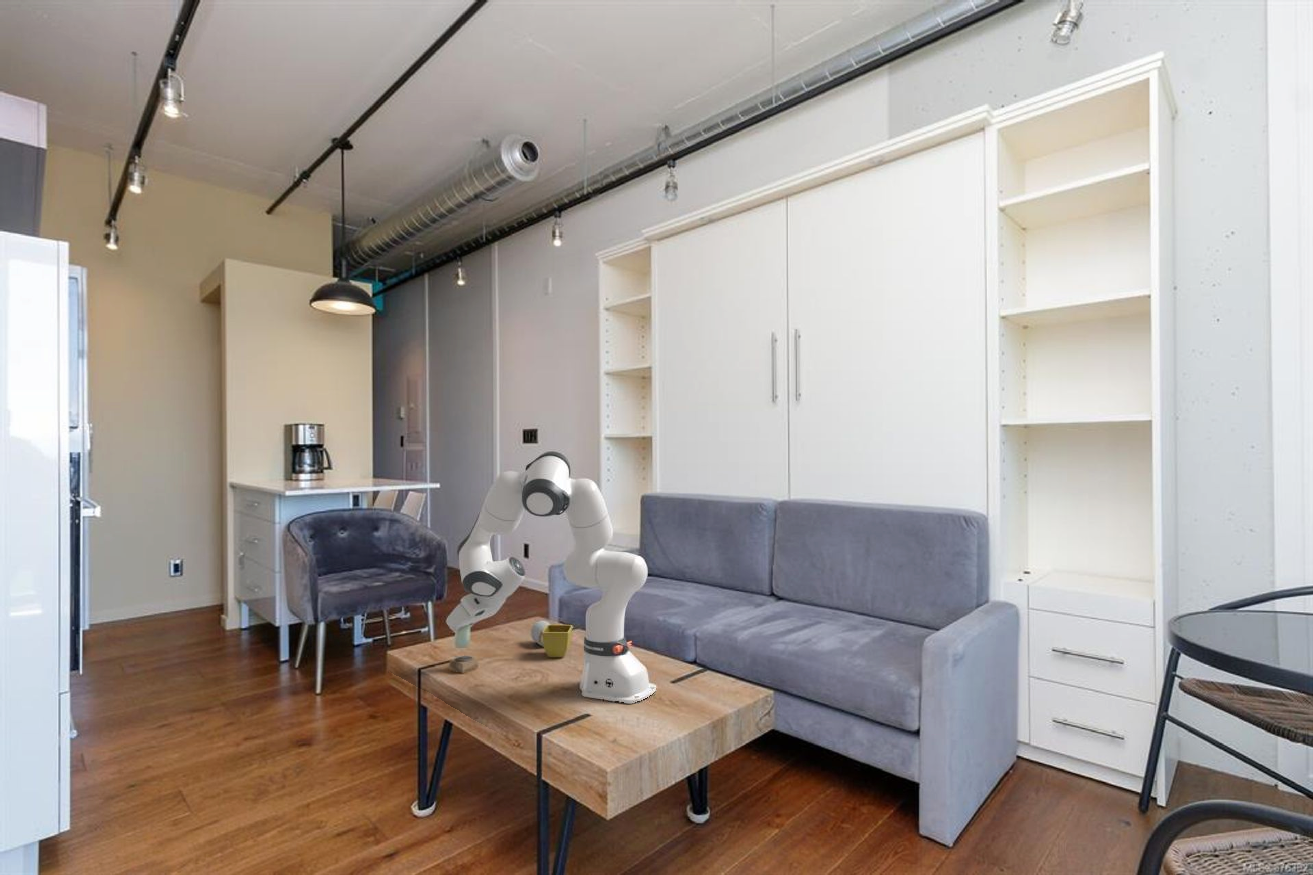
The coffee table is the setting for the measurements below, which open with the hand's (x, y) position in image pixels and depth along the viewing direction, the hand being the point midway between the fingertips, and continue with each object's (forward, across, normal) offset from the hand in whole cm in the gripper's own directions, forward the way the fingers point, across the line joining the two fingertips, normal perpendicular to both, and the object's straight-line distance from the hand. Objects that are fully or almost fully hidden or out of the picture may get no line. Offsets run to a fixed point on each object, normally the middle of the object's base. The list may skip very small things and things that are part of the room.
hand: (461, 628), depth 200 cm
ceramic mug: (+2, -34, +16) cm, 37 cm away
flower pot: (-5, -24, +23) cm, 34 cm away
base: (+8, -1, +9) cm, 13 cm away
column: (+3, 0, +4) cm, 5 cm away
